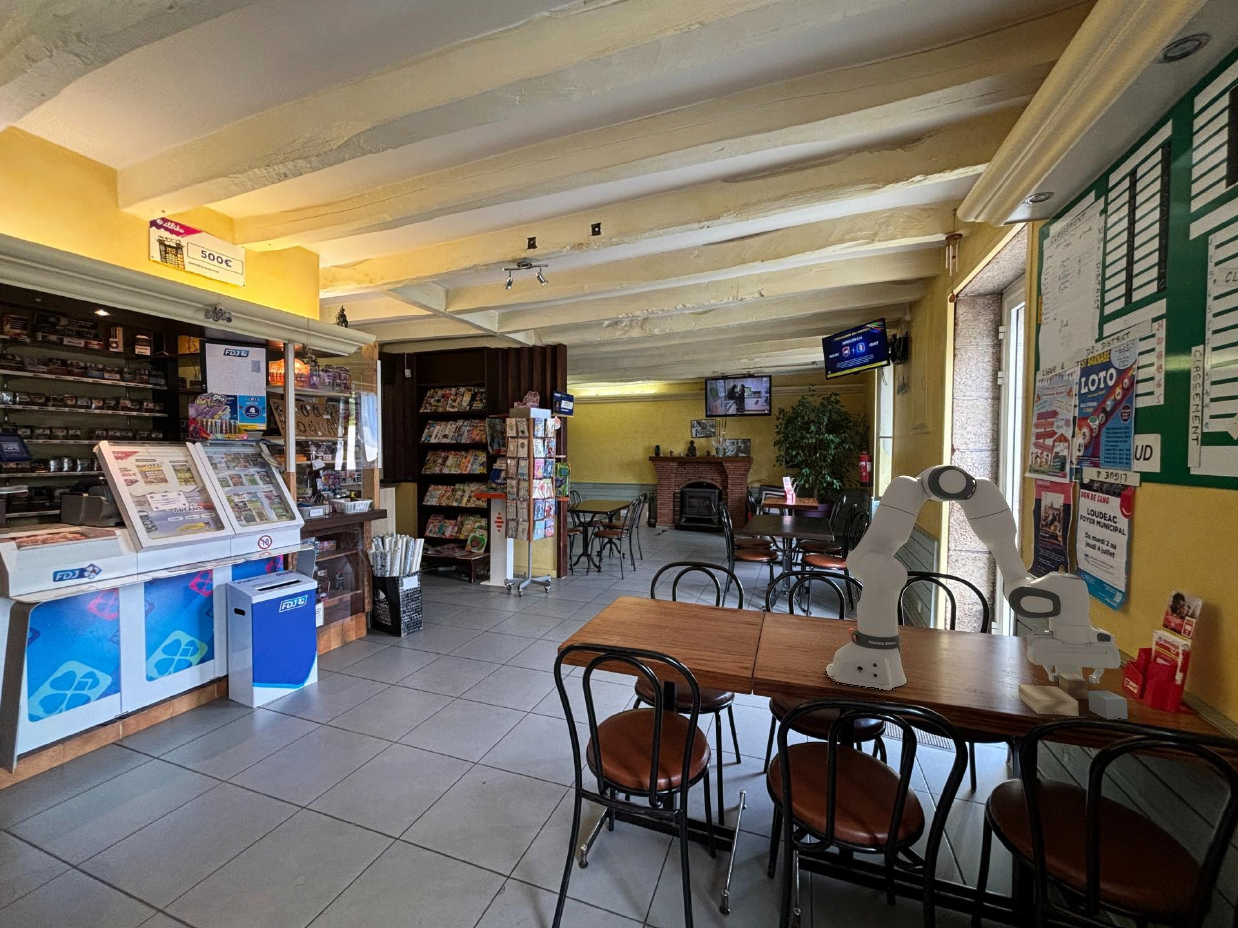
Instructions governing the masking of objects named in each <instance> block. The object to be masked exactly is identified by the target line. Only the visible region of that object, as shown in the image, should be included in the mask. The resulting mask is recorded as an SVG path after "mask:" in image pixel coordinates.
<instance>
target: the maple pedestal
mask: <svg viewBox="0 0 1238 928" xmlns="http://www.w3.org/2000/svg"><path fill="white" fill-rule="evenodd" d="M1017 688H1018V698H1019V700H1020V701H1022V702H1023V703H1025V705H1026V706H1028V707H1029V708H1030V709H1031V710H1033V711H1034V712H1035V713H1036V714H1038V715H1039V714H1041V715H1055V716H1056V715H1058V716H1073V717H1075V716H1076V717H1079V716H1080V715H1079V701H1078V700H1077V699H1076V698H1072V697H1071V696H1069V695H1068V694H1067V693H1065V692H1064V691H1062V690H1061V689H1059V686H1053V685H1052V686H1050V685H1034V684H1033V685H1031V684H1018V687H1017Z"/></svg>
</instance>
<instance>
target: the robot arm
mask: <svg viewBox="0 0 1238 928" xmlns="http://www.w3.org/2000/svg"><path fill="white" fill-rule="evenodd" d="M927 501H928V502H939V503H940V502H941V503H942V502H950V501H951V502H952V501H954V502H955V503H957V504H958V505H959V506H960V508H961V509H962V510H963V511H962V512H963V513H964V516H965V518H966V520H967V522H968V524H969V526H970V528H971V530H972V531H973V533H974V534H975V536H976V537H977V538H978V540H979V541H980V542H981V543H983V545H985V546H986V547H987V548H988V550H990V552H991V554H992V556H993V557H994V560H995V563H996V565H997V567H998V569H999V571H1000V574H1001V575H1002V576H1001V577H1002V595H1003V596H1004V599H1005V600H1006V601H1007V603H1008V605H1009V607H1010V609H1012V611H1013V612H1014V613H1016V614H1017V615H1019V616H1021V617H1023V618H1026V619H1048V624H1049V630H1032V631H1031V632H1028V633H1027V634H1026V644H1027V648H1026V658H1027V659H1028V660H1029V662H1031V663H1032V664H1034V665H1035V666H1042V667H1043V669H1044V670H1045V671H1046V672H1047V674H1048V680H1049V681H1051V682H1059V677H1058V675H1056V674H1055V672H1053V671H1052V670H1053V669H1054V668H1053V667H1055V666H1070V667H1082V668H1092V669H1093V670H1094V671H1093V673H1092V674H1088V678H1089V679H1088V681H1089V683H1092V684H1101V683H1100V678H1101V677H1102V676H1103V674H1104V672H1105V669H1119V668H1120V666H1121V665H1122V664H1121V663H1122V661H1121V655H1120V650H1119V648H1118V646H1117V644H1115V642H1116V635H1114V634H1113V633H1111V632H1109V631H1107V630H1104V629H1102V628H1100V627H1097V626H1093V625H1092V621H1091V618H1090V614H1089V612H1090V611H1091V610H1090V609H1091V603H1090V602H1091V601H1090V594H1089V588H1088V585H1087V583H1086V581H1085V580H1084V579H1083V578H1081V577H1080V576H1078V575H1076V574H1072V573H1070V572H1065V571H1064V572H1063V571H1050V572H1049V573H1047V574H1045V575H1044V576H1041V577H1038V578H1035V577H1033V576H1032V575H1031V574H1030V573H1029V571H1028V569H1027V568H1026V566H1025V564H1024V562H1023V560H1022V558H1021V556H1020V553H1019V551H1018V549H1017V545H1016V535H1017V532H1018V529H1017V525H1016V523H1017V522H1016V520H1015V517H1014V515H1013V511H1012V509H1011V507H1010V505H1009V503H1008V501H1007V500H1006V499H1005V496H1004V494H1003V493H1002V491H1000V489H999V487H998V486H997V485H996V484H995V482H994V481H993V480H992V479H990V478H989V477H984V476H975V477H974V476H972V475H971V474H970V473H968V472H967V471H966V470H965V469H963V468H962V467H960V466H958V465H956V464H950V463H949V464H948V463H946V464H938V465H933V466H932V465H931V466H930V467H928V468H925V469H923V470H921V471H920V472H919V473H917V474H916V475H915V476H913V477H912V476H909V475H908V476H907V475H899V476H896V477H894V478H892V480H891V481H890V482H889V484H888V486H886V489H885V490H884V492H883V494H882V496H881V498H880V500H879V503H878V505H877V507H876V510H875V513H874V515H873V518H872V520H871V522H870V524H869V527H868V529H867V530H866V532H865V534H863V536H862V538H861V539H860V541H859V542H858V544H857V546H856V547H855V548H854V549H853V550H851V551H850V552H849V553H848V555H847V556H846V559H845V565H846V568H847V570H848V572H849V573H850V574H851V576H853V578H854V579H856V580H857V581H859V582H861V585H862V586H861V587H862V589H861V595H860V599H859V601H858V602H857V605H856V614H857V615H856V617H857V628H856V629H854V628H852V627H848V629H847V633H848V635H849V636H850V639H851V641H849V642H848V643H846V644H845V645H844V646H842V647H840V648H839V649H837V650H836V651H835V653H834V656H833V661H832V663H828V665H826V667H825V668H826V669H825V672H826V671H827V674H828V675H829V676H830V677H831V676H834V677H831V678H833V679H835V680H836V681H839V682H842V683H848V684H853V685H859V686H858V687H860V686H865V687H864V688H867V687H875V688H879V689H878V690H881V689H883V690H882V691H891V690H892V688H893V689H894V688H895V687H901V686H903V685H906V683H907V678H906V675H905V672H904V668H903V664H902V660H901V648H902V647H901V645H902V644H901V636H900V633H899V627H898V605H899V604H898V602H899V598H900V596H901V595H900V594H901V591H902V589H903V588H904V587H905V586H906V584H907V581H908V571H907V569H906V567H905V566H904V565H903V564H902V562H900V561H899V560H898V559H897V558H895V557H894V556H895V555H896V553H897V552H898V550H899V549H900V548H901V547H903V545H904V544H906V543H907V542H908V541H909V539H910V536H911V533H912V532H913V528H914V526H915V523H916V521H917V518H918V515H919V513H920V511H921V508H922V507H923V505H924V503H926V502H927ZM827 674H826V675H827ZM853 685H852V686H853Z"/></svg>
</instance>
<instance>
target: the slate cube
mask: <svg viewBox="0 0 1238 928" xmlns="http://www.w3.org/2000/svg"><path fill="white" fill-rule="evenodd" d="M1088 709H1089V711H1090V712H1092V713H1094V714H1095V715H1098V716H1100V717H1102V718H1104V719H1105V718H1106V720H1119V719H1118V718H1121V719H1120V720H1129V719H1128V717H1129V716H1128V699H1127V698H1125V697H1123V696H1121V695H1119V694H1116V693H1114V692H1113V691H1110V690H1108V689H1107V690H1088Z"/></svg>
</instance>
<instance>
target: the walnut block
mask: <svg viewBox="0 0 1238 928" xmlns="http://www.w3.org/2000/svg"><path fill="white" fill-rule="evenodd" d="M1082 677H1083V676H1082ZM1082 677H1081V676H1079V675H1077V674H1060V673H1058V688H1059V689H1061V690H1062V691H1064V692H1065V693H1067V694H1068V695H1069V696H1071V697H1072V698H1074V699H1075V700H1077V699H1080V700H1089V697H1088V691H1089V688H1088V687H1089V685H1088V680H1087V679H1085V678H1084V677H1083V678H1082Z"/></svg>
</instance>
